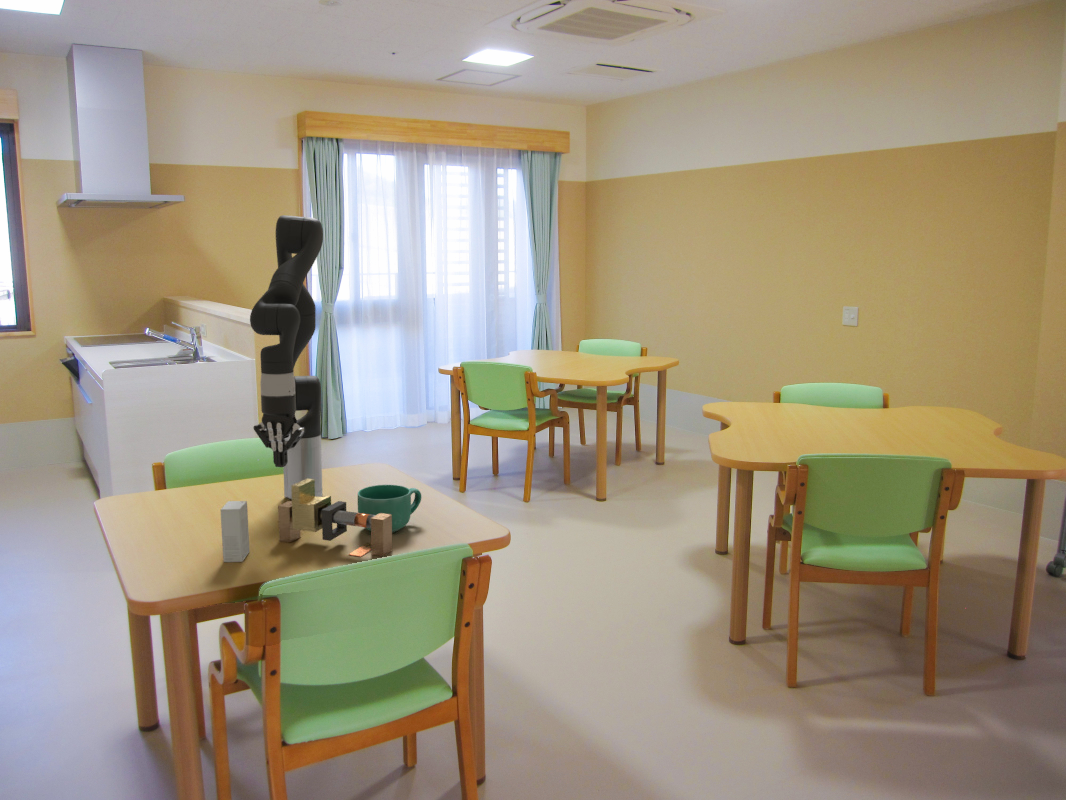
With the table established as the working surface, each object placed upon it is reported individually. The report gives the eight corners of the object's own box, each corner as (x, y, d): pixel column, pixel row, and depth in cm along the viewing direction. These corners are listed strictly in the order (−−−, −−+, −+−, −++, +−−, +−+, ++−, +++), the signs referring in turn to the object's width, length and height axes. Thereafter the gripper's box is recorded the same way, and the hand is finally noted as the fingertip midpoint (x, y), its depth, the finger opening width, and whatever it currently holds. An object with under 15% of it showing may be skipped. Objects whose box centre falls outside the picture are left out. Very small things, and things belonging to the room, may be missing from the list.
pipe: (274, 543, 187) (272, 508, 185) (294, 532, 194) (293, 498, 193) (379, 559, 178) (378, 522, 177) (396, 547, 186) (395, 511, 184)
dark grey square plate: (322, 539, 183) (321, 509, 182) (339, 530, 189) (338, 501, 188) (330, 540, 182) (329, 510, 181) (346, 531, 189) (346, 502, 187)
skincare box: (230, 552, 181) (227, 500, 179) (250, 552, 181) (247, 500, 179) (222, 562, 175) (219, 509, 173) (242, 562, 175) (240, 509, 173)
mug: (371, 541, 190) (371, 502, 188) (349, 526, 199) (348, 489, 198) (434, 528, 199) (434, 491, 197) (410, 515, 209) (410, 479, 207)
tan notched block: (291, 529, 185) (290, 485, 183) (309, 520, 192) (308, 478, 190) (314, 532, 183) (313, 488, 181) (331, 523, 190) (330, 480, 188)
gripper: (242, 392, 183) (246, 467, 186) (293, 396, 179) (296, 473, 182) (263, 388, 190) (266, 460, 193) (312, 391, 186) (315, 465, 189)
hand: (280, 466), depth 187 cm, fingers closed
